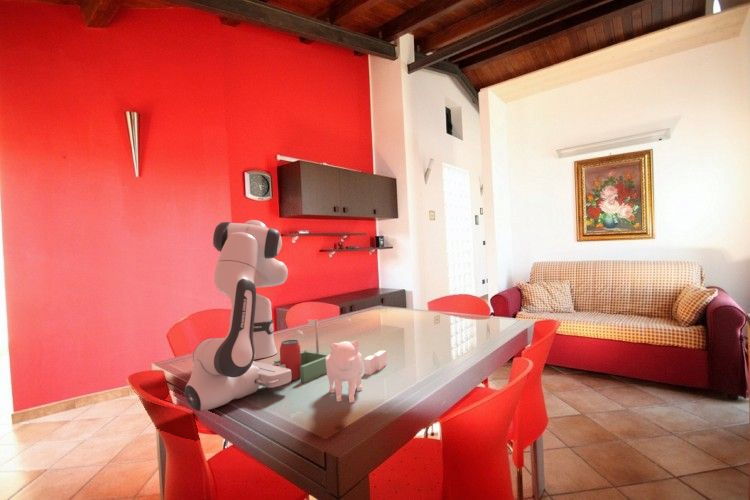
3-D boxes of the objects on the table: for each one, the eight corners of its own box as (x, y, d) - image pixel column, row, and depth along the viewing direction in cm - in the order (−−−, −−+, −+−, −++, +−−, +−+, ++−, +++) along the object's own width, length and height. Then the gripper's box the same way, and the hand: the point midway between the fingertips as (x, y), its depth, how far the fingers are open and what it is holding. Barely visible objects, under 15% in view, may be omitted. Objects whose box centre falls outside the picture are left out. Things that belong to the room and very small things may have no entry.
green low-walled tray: (304, 382, 113) (301, 328, 113) (274, 375, 121) (272, 325, 121) (334, 369, 125) (332, 320, 125) (306, 364, 133) (304, 318, 133)
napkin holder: (384, 362, 132) (384, 347, 132) (401, 370, 122) (400, 354, 122) (347, 370, 124) (346, 353, 125) (361, 379, 114) (361, 361, 114)
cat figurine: (325, 381, 113) (323, 328, 114) (358, 377, 115) (356, 326, 115) (328, 415, 89) (325, 348, 89) (370, 410, 90) (366, 344, 91)
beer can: (297, 381, 114) (295, 344, 114) (277, 381, 115) (276, 344, 115) (304, 374, 120) (302, 339, 120) (285, 374, 121) (284, 339, 121)
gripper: (267, 373, 98) (305, 360, 109) (224, 363, 109) (262, 352, 121) (268, 397, 98) (305, 381, 109) (225, 384, 109) (263, 370, 121)
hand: (282, 365), depth 115 cm, fingers closed, pressing on beer can
